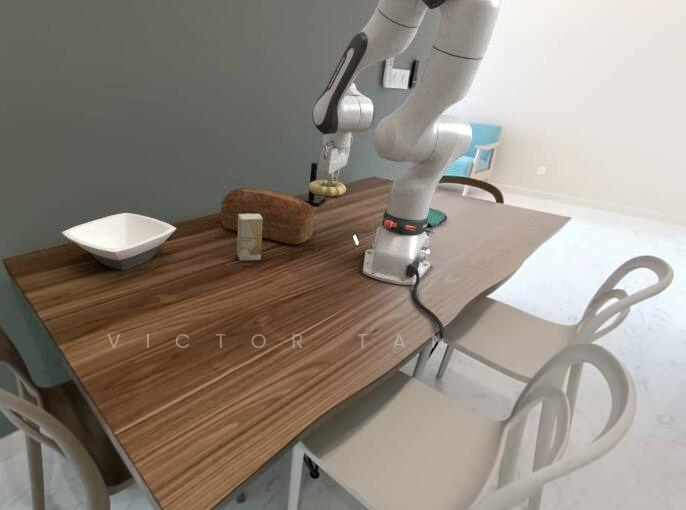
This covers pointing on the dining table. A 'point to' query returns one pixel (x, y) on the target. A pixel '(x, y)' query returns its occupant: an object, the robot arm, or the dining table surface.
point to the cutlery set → (435, 218)
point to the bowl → (121, 239)
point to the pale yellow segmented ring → (326, 188)
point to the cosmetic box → (249, 236)
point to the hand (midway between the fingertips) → (331, 183)
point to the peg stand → (311, 197)
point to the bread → (270, 214)
